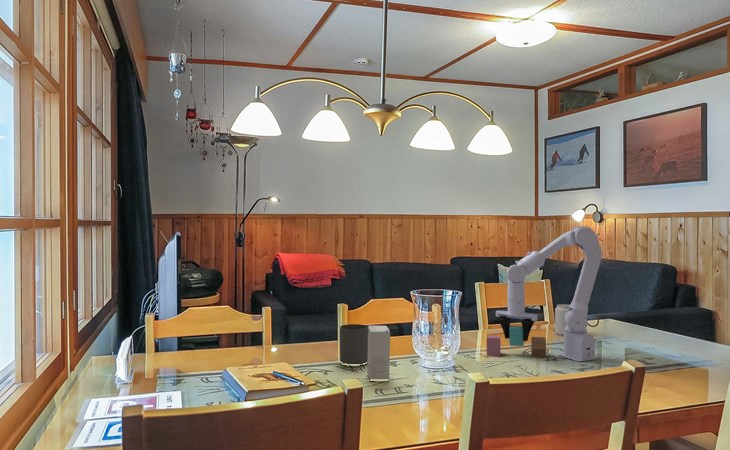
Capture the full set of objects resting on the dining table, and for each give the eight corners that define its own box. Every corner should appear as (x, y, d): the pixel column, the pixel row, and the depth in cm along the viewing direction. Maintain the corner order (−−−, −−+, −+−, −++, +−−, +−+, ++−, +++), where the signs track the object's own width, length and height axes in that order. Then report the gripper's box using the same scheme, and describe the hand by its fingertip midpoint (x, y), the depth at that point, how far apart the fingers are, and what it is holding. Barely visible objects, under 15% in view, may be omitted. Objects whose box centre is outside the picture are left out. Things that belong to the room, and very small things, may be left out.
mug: (370, 366, 177) (370, 328, 177) (342, 368, 176) (342, 329, 176) (362, 356, 191) (362, 321, 191) (335, 357, 189) (335, 322, 189)
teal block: (523, 346, 190) (523, 328, 190) (509, 345, 191) (509, 328, 190) (522, 343, 194) (522, 326, 194) (509, 342, 195) (509, 325, 195)
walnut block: (546, 357, 188) (546, 339, 188) (532, 357, 189) (532, 339, 189) (544, 354, 193) (544, 337, 193) (531, 353, 194) (531, 336, 194)
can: (571, 333, 230) (571, 303, 230) (577, 336, 222) (576, 306, 222) (553, 332, 230) (553, 303, 230) (557, 336, 223) (557, 306, 223)
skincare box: (366, 374, 168) (366, 325, 168) (386, 374, 168) (386, 324, 168) (369, 382, 159) (369, 330, 159) (390, 382, 160) (390, 330, 160)
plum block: (500, 356, 191) (500, 338, 191) (486, 355, 192) (486, 337, 192) (500, 353, 195) (500, 335, 195) (487, 352, 196) (486, 335, 196)
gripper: (541, 300, 190) (541, 340, 190) (502, 297, 200) (502, 335, 200) (532, 302, 185) (532, 344, 185) (492, 299, 195) (492, 338, 195)
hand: (516, 339), depth 192 cm, fingers closed on teal block, 6 cm apart
